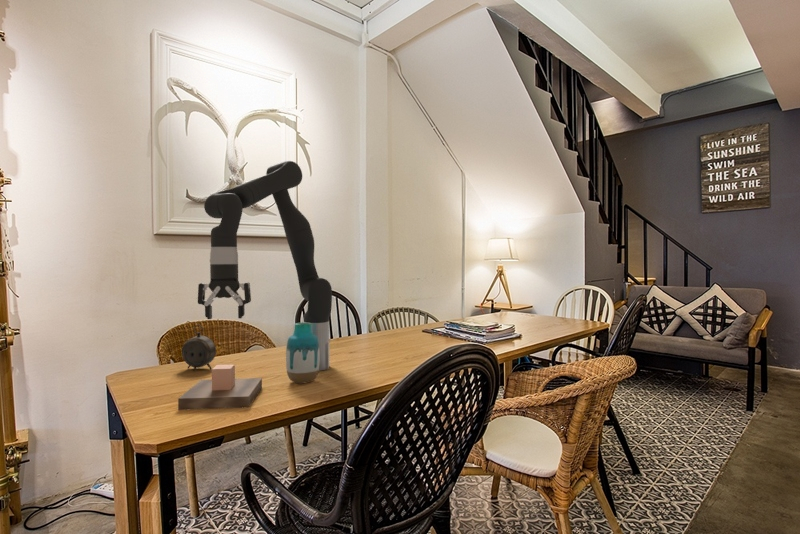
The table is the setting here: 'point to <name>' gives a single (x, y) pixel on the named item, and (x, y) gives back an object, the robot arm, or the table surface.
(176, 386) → the table surface
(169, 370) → the table surface
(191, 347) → the alarm clock
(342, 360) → the table surface
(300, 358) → the vase
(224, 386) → the pink block
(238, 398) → the walnut base
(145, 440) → the table surface
